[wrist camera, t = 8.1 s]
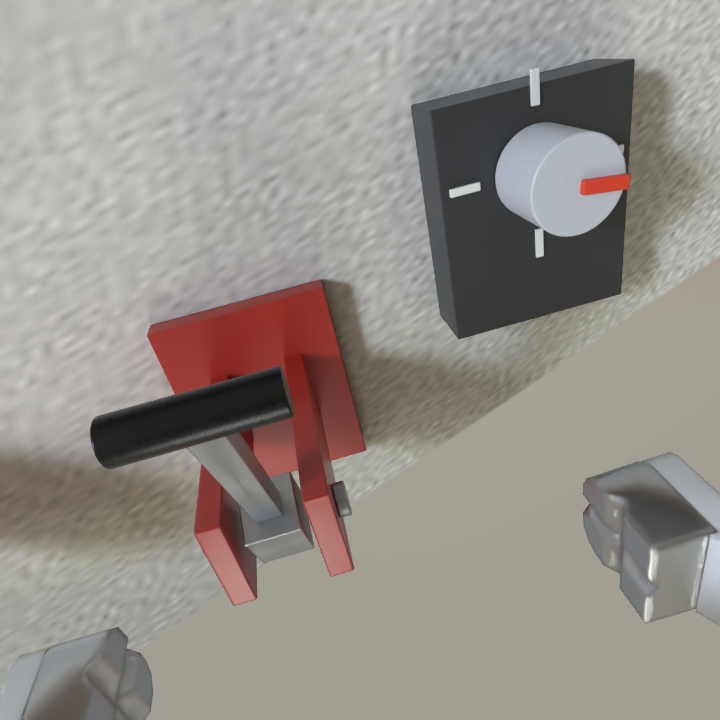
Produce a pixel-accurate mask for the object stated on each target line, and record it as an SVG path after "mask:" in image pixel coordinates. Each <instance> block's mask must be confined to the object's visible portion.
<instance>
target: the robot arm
mask: <svg viewBox="0 0 720 720" xmlns="http://www.w3.org/2000/svg"><path fill="white" fill-rule="evenodd" d="M583 495H584V496H585V497H586V499H587V500H588V502H589V503H590V504H589V505H588V506H587V508H586V509H585V511H584V512H583V516H584V517H583V518H584V528H585V531H586V534H587V537H588V540H589V542H590V544H591V546H592V548H593V550H594V552H595V553H596V555H597V556H598V558H599V559H600V561H601V562H602V564H603V565H604V566H606V567H608V568H610V569H612V570H614V571H616V572H618V573H620V589H621V590H622V592H623V593H624V595H625V596H626V597H627V599H628V600H629V602H630V603H631V604H632V606H633V607H634V608H635V610H636V611H637V613H638V614H639V616H640V617H641V618H642V620H643V621H644V622H645V623H649V622H653V621H656V620H659V619H663V618H666V617H670V616H673V615H676V614H680V613H683V612H686V611H690V610H693V609H696V612H697V613H699V614H701V615H702V616H704V617H705V618H707V619H709V620H711V621H712V622H714V623H715V624H717V625H718V626H720V493H719V492H718V491H717V490H716V489H715V488H714V487H712V486H711V485H710V484H709V483H708V482H707V481H706V480H705V479H704V478H702V477H701V476H700V475H699V474H698V473H697V472H696V471H695V470H694V469H692V468H691V467H690V466H689V465H688V464H687V463H686V462H685V461H684V460H682V459H681V458H680V457H679V456H678V455H676V454H673V453H671V452H669V453H666V454H663V455H659V456H656V457H653V458H650V459H647V460H643V461H641V462H635V463H632V464H629V465H626V466H623V467H620V468H617V469H614V470H611V471H608V472H605V473H602V474H599V475H596V476H593V477H590V478H587V479H586V480H585V482H584V484H583ZM127 641H128V637H127V636H126V635H125V634H124V633H123V632H122V631H121V630H120V629H119V627H117V628H113V629H109V630H106V631H102V632H99V633H95V634H92V635H88V636H85V637H81V638H78V639H74V640H71V641H67V642H64V643H60V644H57V645H53V646H50V647H47V648H43V649H40V650H37V651H34V652H30V653H27V654H24V655H21V656H20V657H19V658H18V659H17V660H16V662H15V663H14V664H13V665H12V667H11V669H10V671H9V674H8V677H7V679H6V682H5V684H4V687H3V689H2V692H1V695H0V720H146V718H147V716H148V715H149V713H150V712H151V704H152V696H153V688H152V677H151V672H150V669H149V667H148V664H147V661H146V660H145V659H144V657H143V656H142V655H141V653H139V652H136V651H132V650H129V649H126V647H127Z"/></svg>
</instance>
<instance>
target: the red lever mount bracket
mask: <svg viewBox="0 0 720 720" xmlns="http://www.w3.org/2000/svg"><path fill="white" fill-rule="evenodd" d="M147 337H148V339H149V341H150V343H151V345H152V347H153V349H154V351H155V353H156V356H157V358H158V360H159V362H160V364H161V366H162V368H163V370H164V372H165V374H166V376H167V378H168V381H169V383H170V385H171V387H172V389H173V391H174V393H175V394H179V393H183V392H186V391H190V390H193V389H197V388H201V387H204V386H208V385H211V384H215V383H219V382H222V381H226V380H229V379H233V378H236V377H240V376H244V375H247V374H251V373H254V372H258V371H262V370H265V369H269V368H272V367H276V366H281V367H282V369H283V371H284V374H285V376H286V379H287V382H288V386H289V389H290V393H291V397H292V401H293V405H294V411H295V415H294V417H293V418H290V419H286V420H283V421H279V422H276V423H272V424H268V425H265V426H261V427H258V428H254V429H251V430H247V431H244V432H240V435H241V436H242V437H243V439H244V440H245V442H246V443H247V445H248V446H249V448H250V449H251V451H252V452H253V454H254V455H255V457H256V458H257V460H258V461H259V463H260V464H261V466H262V467H263V468H264V470H265V471H266V473H267V474H268V476H269V477H273V476H276V475H280V474H283V473H287V472H294V471H297V470H298V471H299V479H300V486H301V494H302V502H303V504H304V507H305V510H306V512H307V515H308V518H309V521H310V523H311V526H312V529H313V531H314V533H315V537H316V539H317V542H318V545H319V547H320V550H321V553H322V555H323V558H324V561H325V563H326V566H327V568H328V571H329V574H330V576H331V577H333V576H336V575H339V574H343V573H346V572H349V571H352V570H354V566H353V561H352V557H351V552H350V548H349V543H348V538H347V533H346V529H345V524H344V519H343V517H345V516H348V515H351V513H352V512H351V507H350V503H349V499H348V496H347V492H346V489H345V485H344V482H343V481H339V482H335V477H334V473H333V468H332V464H331V461H332V460H335V459H339V458H342V457H345V456H349V455H352V454H356V453H359V452H363V451H366V447H365V443H364V439H363V435H362V432H361V428H360V424H359V420H358V416H357V413H356V409H355V405H354V401H353V398H352V394H351V390H350V386H349V382H348V379H347V375H346V371H345V367H344V363H343V360H342V356H341V352H340V348H339V344H338V341H337V337H336V333H335V329H334V325H333V322H332V318H331V314H330V310H329V307H328V303H327V299H326V295H325V291H324V288H323V285H322V282H321V280H317V281H313V282H309V283H306V284H302V285H298V286H295V287H291V288H287V289H283V290H280V291H276V292H272V293H269V294H265V295H261V296H257V297H254V298H250V299H246V300H243V301H239V302H235V303H232V304H228V305H224V306H220V307H217V308H213V309H209V310H206V311H202V312H198V313H194V314H191V315H187V316H183V317H180V318H176V319H172V320H168V321H165V322H161V323H157V324H154V325H151V326H150V328H149V331H148V334H147ZM194 535H195V537H196V539H197V540H198V542H199V544H200V546H201V548H202V550H203V552H204V554H205V555H206V557H207V559H208V560H209V562H210V564H211V566H212V568H213V569H214V571H215V573H216V575H217V577H218V578H219V580H220V582H221V584H222V586H223V588H224V589H225V591H226V593H227V595H228V597H229V598H230V600H231V602H232V604H233V605H234V606H236V605H240V604H243V603H246V602H249V601H253V600H256V599H257V569H256V556H255V555H254V554H253V553H252V552H251V551H250V550H249V549H248V548H246V547H245V545H244V539H243V531H242V524H241V516H240V509H239V504H238V503H237V502H236V501H235V500H234V499H233V497H232V496H231V495H230V494H229V493H228V492H227V491H226V490H225V489H224V488H223V487H222V485H221V484H220V483H219V482H218V481H217V480H216V479H215V478H214V477H213V476H212V475H211V473H210V472H209V471H208V470H207V469H206V468H205V467H204V466H203V465H202V464H201V471H200V481H199V490H198V499H197V509H196V518H195V528H194Z"/></svg>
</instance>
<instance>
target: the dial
mask: <svg viewBox="0 0 720 720" xmlns="http://www.w3.org/2000/svg"><path fill="white" fill-rule="evenodd" d="M630 177H631V175H630V174H627V173H626V164H625V159H624V156H623V153H622V151H621V149H620V147H619V146H618V145H617V143H616V142H615V141H614V140H613V139H612V138H610V137H609V136H607V135H605V134H603V133H599V132H595V131H590V130H586V129H581V128H576V127H571V126H567V125H562V124H557V123H551V122H541V123H536V124H533V125H530V126H528V127H526V128H524V129H523V130H521V131H520V132H519V133H517V134H516V135H515V136H514V137H513V138H512V139H511V140H510V141H509V143H508V144H507V145H506V147H505V148H504V150H503V152H502V153H501V156H500V158H499V161H498V164H497V168H496V175H495V183H496V189H497V193H498V195H499V198H500V200H501V201H502V203H503V204H504V205H505V206H506V207H507V208H508V209H509V210H510V211H512V212H514V213H515V214H517V215H519V216H521V217H522V218H524V219H526V220H528V221H529V222H531V223H533V224H535V225H536V226H538V227H540V228H542V229H543V230H545V231H547V232H548V233H550V234H553V235H556V236H562V237H569V236H576V235H580V234H582V233H585V232H587V231H589V230H591V229H593V228H594V227H596V226H597V225H599V224H600V223H601V222H602V221H603V220H604V219H605V218H606V217H607V216H608V215H609V214H610V213H611V211H612V210H613V209H614V207H615V206H616V204H617V202H618V200H619V198H620V196H621V194H622V191H623V190H625V189H629V183H630Z"/></svg>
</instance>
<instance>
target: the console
mask: <svg viewBox="0 0 720 720" xmlns="http://www.w3.org/2000/svg"><path fill="white" fill-rule="evenodd" d="M633 78H634V59H592V60H588V61H584V62H580V63H576V64H573V65H569V66H565V67H561V68H557V69H553V70H549V71H545V72H541V73H539V67H537V68H533V69H530V75H529V76H525V77H521V78H517V79H513V80H509V81H505V82H501V83H497V84H493V85H490V86H486V87H482V88H478V89H474V90H470V91H466V92H462V93H458V94H454V95H450V96H446V97H442V98H438V99H434V100H430V101H426V102H422V103H418V104H414V105H412V106H411V110H412V117H413V124H414V131H415V138H416V145H417V152H418V159H419V166H420V174H421V181H422V188H423V195H424V202H425V209H426V216H427V223H428V230H429V237H430V244H431V251H432V258H433V266H434V273H435V280H436V287H437V294H438V301H439V308H440V315H441V317H442V318H443V319H444V321H445V322H446V323H447V324H448V326H449V327H450V328H451V330H452V331H453V332H454V334H455V335H456V336H457V338H458V339H462V338H465V337H469V336H472V335H476V334H479V333H483V332H486V331H490V330H494V329H497V328H501V327H504V326H508V325H511V324H515V323H519V322H522V321H526V320H529V319H533V318H536V317H540V316H544V315H547V314H551V313H554V312H558V311H561V310H565V309H568V308H572V307H576V306H579V305H583V304H586V303H590V302H593V301H597V300H601V299H604V298H608V297H611V296H615V295H618V294H621V282H622V265H623V248H624V231H625V214H626V197H627V189H625V190H623V191H622V194H621V196H620V198H619V200H618V202H617V204H616V206H615V207H614V209H613V210H612V211H611V213H610V214H609V215H608V216H607V217H606V218H605V219H604V220H603V221H602V222H601V223H600V224H599V225H597V226H596V227H594V228H593V229H591V230H589V231H587V232H585V233H582V234H580V235H576V236H569V237H562V236H556V235H553V234H550V233H548V232H547V231H545V230H543V229H542V228H540V227H538V226H536V225H535V224H533V223H531V222H529V221H528V220H526V219H524V218H522V217H521V216H519V215H517V214H515V213H514V212H512V211H510V210H509V209H508V208H507V207H506V206H505V205H504V204H503V203H502V201H501V200H500V198H499V195H498V193H497V189H496V183H495V175H496V168H497V164H498V161H499V158H500V156H501V153H502V152H503V150H504V148H505V147H506V145H507V144H508V143H509V141H510V140H511V139H512V138H513V137H514V136H515V135H516V134H517V133H519V132H520V131H521V130H523V129H524V128H526V127H528V126H530V125H533V124H536V123H541V122H551V123H557V124H562V125H567V126H571V127H576V128H581V129H586V130H590V131H595V132H599V133H603V134H605V135H607V136H609V137H610V138H612V139H613V140H614V141H615V142H616V143H617V145H618V146H619V147H620V149H621V151H622V153H623V156H624V159H625V164H626V173H627V174H628V163H629V146H630V129H631V112H632V95H633Z"/></svg>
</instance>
